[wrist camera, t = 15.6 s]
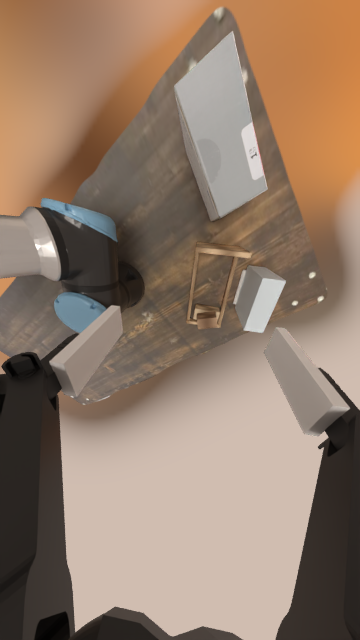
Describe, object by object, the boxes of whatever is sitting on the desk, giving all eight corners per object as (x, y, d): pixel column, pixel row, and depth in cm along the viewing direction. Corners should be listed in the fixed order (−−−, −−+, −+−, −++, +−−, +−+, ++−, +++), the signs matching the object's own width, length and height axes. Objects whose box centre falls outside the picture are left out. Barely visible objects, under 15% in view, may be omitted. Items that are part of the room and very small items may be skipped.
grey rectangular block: (234, 308, 54) (243, 330, 42) (248, 265, 46) (262, 278, 35) (249, 310, 53) (262, 332, 42) (265, 267, 46) (286, 280, 35)
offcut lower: (193, 313, 57) (193, 319, 54) (195, 303, 55) (195, 308, 52) (215, 317, 57) (216, 323, 54) (218, 307, 55) (220, 312, 51)
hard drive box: (239, 205, 40) (268, 192, 23) (211, 222, 42) (218, 221, 25) (216, 126, 34) (233, 26, 17) (184, 151, 36) (170, 86, 19)
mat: (232, 303, 53) (233, 303, 53) (242, 269, 48) (243, 270, 47) (254, 305, 53) (254, 306, 52) (266, 272, 47) (267, 272, 47)
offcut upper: (198, 322, 54) (198, 329, 51) (196, 313, 53) (196, 319, 49) (216, 320, 53) (217, 327, 50) (215, 311, 51) (216, 317, 48)
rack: (186, 320, 59) (183, 340, 48) (197, 241, 45) (195, 247, 35) (219, 324, 58) (223, 346, 48) (239, 246, 45) (251, 253, 34)
